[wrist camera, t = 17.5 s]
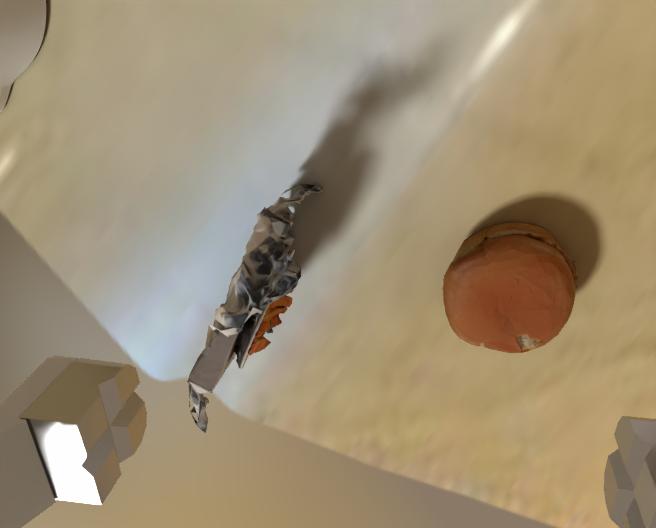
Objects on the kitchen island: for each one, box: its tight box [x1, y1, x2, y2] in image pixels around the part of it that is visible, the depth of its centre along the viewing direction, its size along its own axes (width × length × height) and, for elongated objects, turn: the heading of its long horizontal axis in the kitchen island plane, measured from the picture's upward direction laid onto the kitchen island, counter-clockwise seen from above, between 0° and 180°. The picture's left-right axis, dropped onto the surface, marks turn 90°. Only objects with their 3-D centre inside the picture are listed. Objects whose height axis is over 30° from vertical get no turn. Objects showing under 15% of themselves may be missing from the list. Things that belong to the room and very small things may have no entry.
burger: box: [443, 223, 578, 353], centre depth 43 cm, size 10×9×5 cm
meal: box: [187, 184, 323, 432], centre depth 42 cm, size 15×4×13 cm, turn 158°
